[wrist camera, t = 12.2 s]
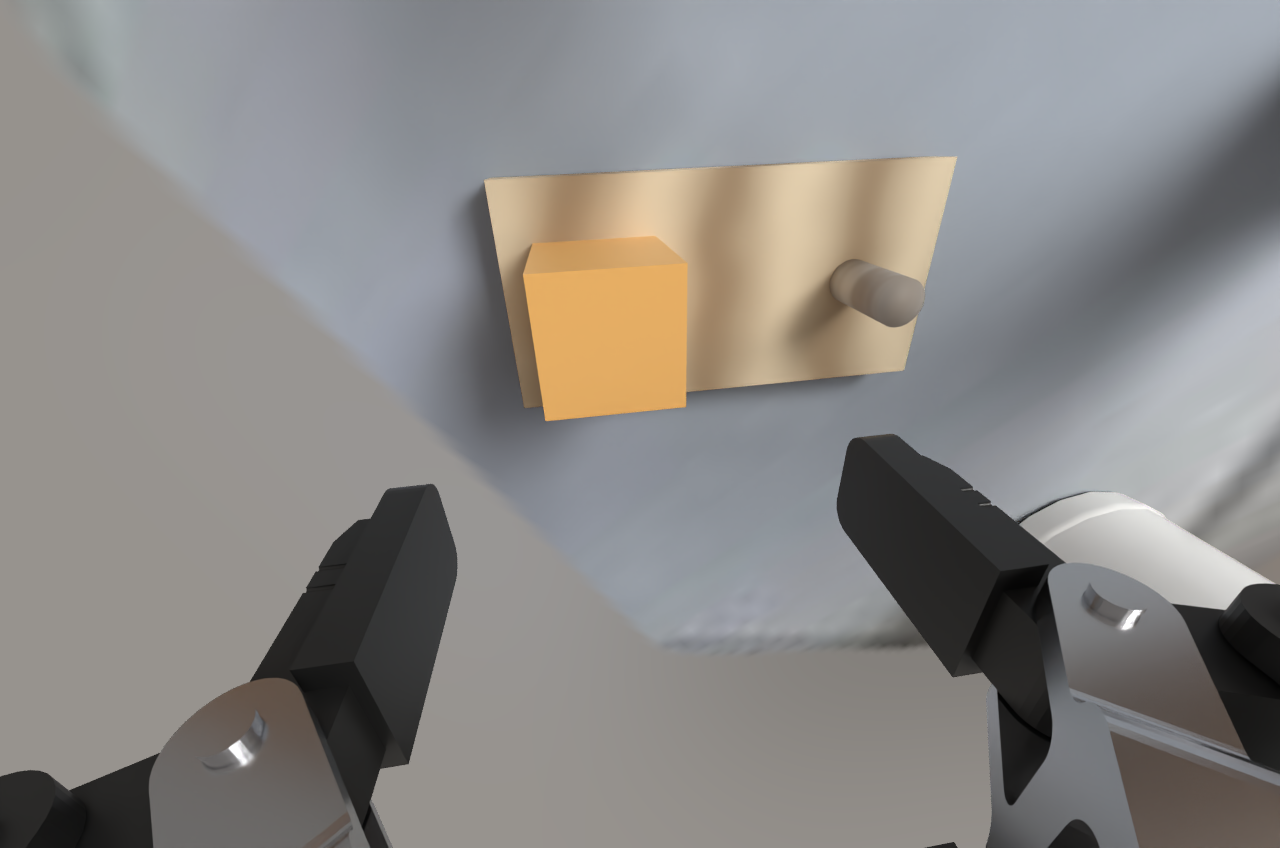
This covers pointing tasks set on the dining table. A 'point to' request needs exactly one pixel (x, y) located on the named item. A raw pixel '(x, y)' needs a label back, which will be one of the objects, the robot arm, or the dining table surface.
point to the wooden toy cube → (608, 325)
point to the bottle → (1141, 548)
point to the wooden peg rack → (751, 258)
